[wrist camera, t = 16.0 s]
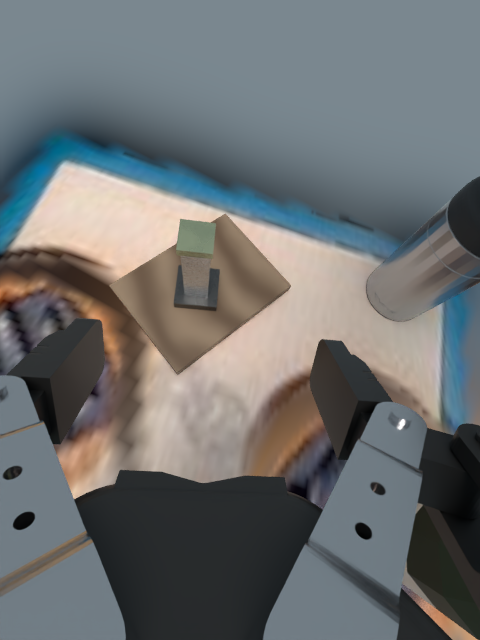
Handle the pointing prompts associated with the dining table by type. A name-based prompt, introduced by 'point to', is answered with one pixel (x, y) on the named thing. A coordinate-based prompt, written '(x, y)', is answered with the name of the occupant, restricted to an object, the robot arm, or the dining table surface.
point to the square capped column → (196, 267)
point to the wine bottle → (438, 575)
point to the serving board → (191, 324)
